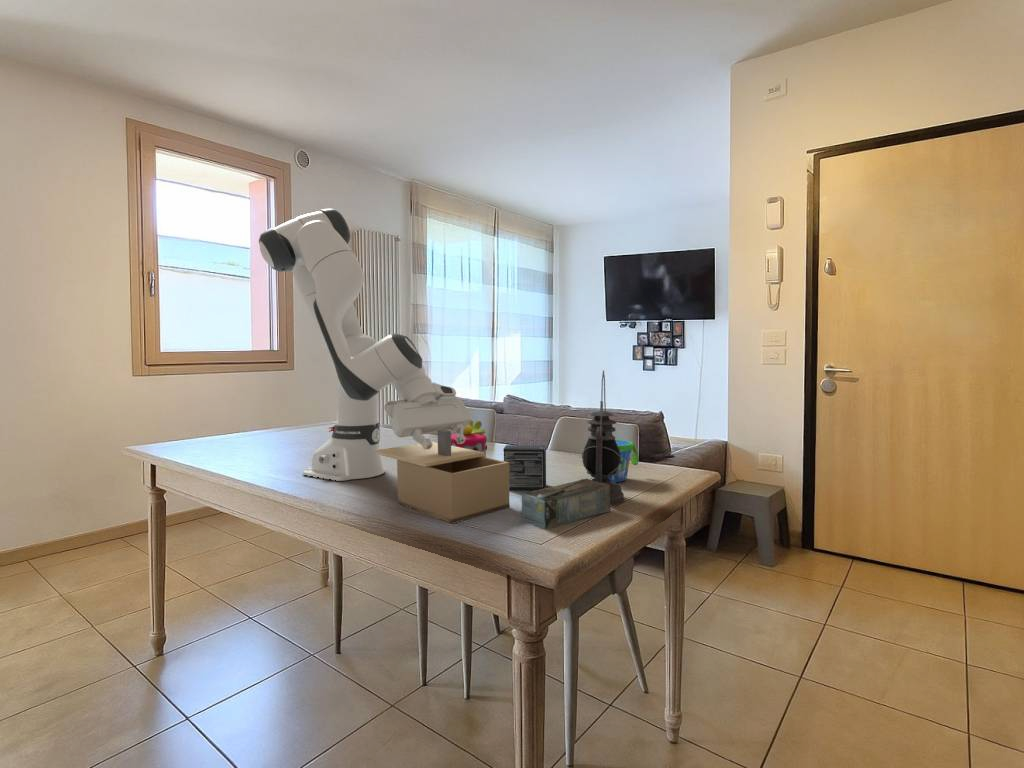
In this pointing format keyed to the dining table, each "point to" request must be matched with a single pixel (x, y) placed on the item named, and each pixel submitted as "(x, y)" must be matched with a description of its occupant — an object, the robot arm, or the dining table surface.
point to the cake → (472, 438)
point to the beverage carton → (565, 503)
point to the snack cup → (625, 460)
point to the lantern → (603, 451)
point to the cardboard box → (455, 487)
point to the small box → (526, 466)
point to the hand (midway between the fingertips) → (445, 444)
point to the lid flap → (431, 452)
